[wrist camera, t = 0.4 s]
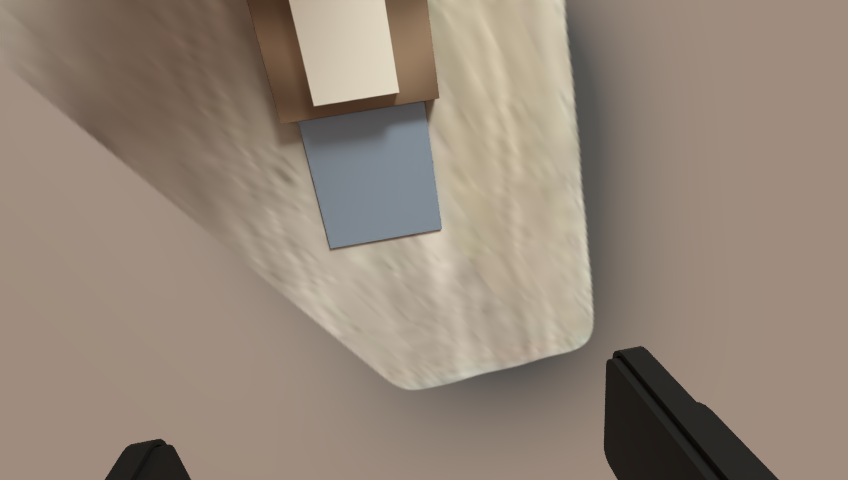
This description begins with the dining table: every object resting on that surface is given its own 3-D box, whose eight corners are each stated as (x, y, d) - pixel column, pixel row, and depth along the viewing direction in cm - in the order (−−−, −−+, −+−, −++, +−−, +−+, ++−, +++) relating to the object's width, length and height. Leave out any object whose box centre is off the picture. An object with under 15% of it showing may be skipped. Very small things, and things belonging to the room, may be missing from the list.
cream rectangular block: (284, -39, 28) (278, -46, 26) (374, -52, 29) (375, -60, 27) (317, 103, 32) (314, 106, 30) (397, 90, 32) (399, 92, 30)
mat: (298, 121, 34) (298, 121, 34) (423, 100, 34) (424, 101, 34) (330, 247, 38) (330, 248, 38) (441, 227, 39) (441, 229, 38)
